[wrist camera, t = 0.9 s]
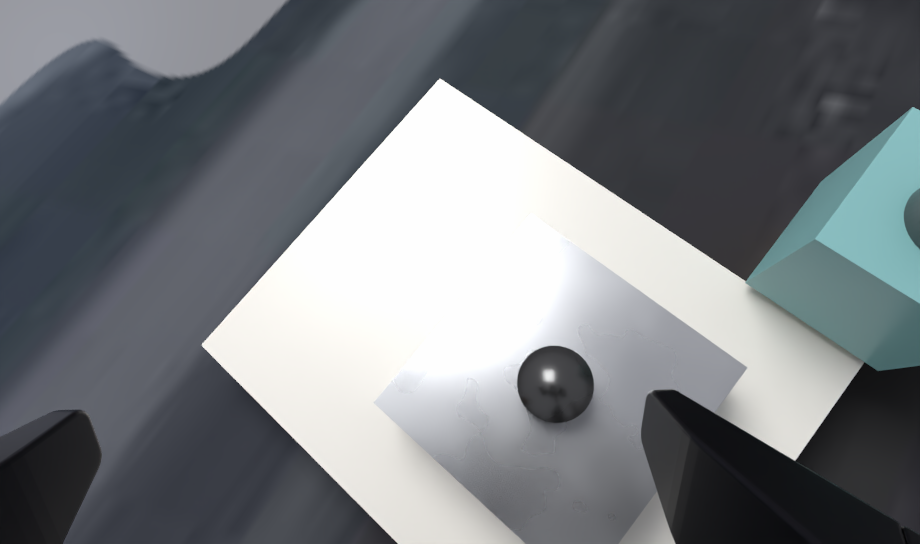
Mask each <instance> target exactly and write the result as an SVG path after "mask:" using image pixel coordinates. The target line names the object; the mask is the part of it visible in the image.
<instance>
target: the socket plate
mask: <svg viewBox="0 0 920 544" xmlns="http://www.w3.org/2000/svg"><path fill="white" fill-rule="evenodd" d="M530 214H532V215H534V216H535V217H537V218H538V219H540V220H541V221H542V222H544V223H545V224H547V225H548V226H549V227H551V228H552V229H554V230H555V231H556V232H558V233H559V234H561V235H562V236H563V237H565V238H566V239H568V240H569V241H570V242H572V243H573V244H575V245H576V246H577V247H579V248H580V249H582V250H583V251H584V252H586V253H587V254H589V255H590V256H592V257H593V258H594V259H596V260H597V261H599V262H600V263H601V264H603V265H604V266H606V267H607V268H608V269H610V270H611V271H613V272H614V273H615V274H617V275H618V276H620V277H621V278H622V279H624V280H625V281H627V282H628V283H629V284H631V285H632V286H634V287H635V288H636V289H638V290H639V291H641V292H642V293H644V294H645V295H646V296H648V297H649V298H651V299H652V300H653V301H655V302H656V303H658V304H659V305H660V306H662V307H663V308H665V309H666V310H667V311H669V312H670V313H672V314H673V315H674V316H676V317H677V318H679V319H680V320H681V321H683V322H684V323H686V324H687V325H688V326H690V327H691V328H693V329H694V330H696V331H697V332H698V333H700V334H701V335H703V336H704V337H705V338H707V339H708V340H710V341H711V342H712V343H714V344H715V345H717V346H718V347H719V348H721V349H722V350H724V351H725V352H726V353H728V354H729V355H731V356H732V357H733V358H735V359H736V360H738V361H739V362H741V363H742V364H743V365H745V366H746V367H748V368H747V369H746V371H745V372H744V373H743V375H742V376H741V378H740V379H739V380H738V382H737V383H736V384H735V386H734V387H733V388H732V390H731V391H730V393H729V394H728V395H727V397H726V398H725V399H724V401H723V402H722V403H721V405H720V406H719V407H718V409H717V410H716V412H715V414H717V415H719V416H720V417H722V418H724V419H725V420H727V421H729V422H731V423H732V424H734V425H736V426H737V427H739V428H741V429H742V430H744V431H746V432H747V433H749V434H751V435H752V436H754V437H756V438H757V439H759V440H761V441H763V442H764V443H766V444H768V445H769V446H771V447H773V448H774V449H776V450H778V451H779V452H781V453H783V454H784V455H786V456H788V457H790V458H791V459H793V460H796V459H797V457H798V456H799V454H800V453H801V452H802V450H803V449H804V447H805V446H806V445H807V443H808V442H809V440H810V439H811V437H812V436H813V435H814V433H815V432H816V430H817V429H818V427H819V426H820V425H821V423H822V422H823V420H824V419H825V417H826V416H827V415H828V413H829V412H830V410H831V409H832V408H833V406H834V405H835V403H836V402H837V400H838V399H839V398H840V396H841V395H842V393H843V392H844V390H845V389H846V388H847V386H848V385H849V383H850V382H851V381H852V379H853V378H854V376H855V375H856V373H857V372H858V371H859V369H860V368H861V366H862V365H863V363H864V361H862V360H861V359H859V358H858V357H856V356H855V355H853V354H852V353H850V352H849V351H847V350H846V349H844V348H843V347H841V346H840V345H838V344H836V343H835V342H833V341H832V340H830V339H829V338H827V337H826V336H824V335H823V334H821V333H820V332H818V331H817V330H815V329H814V328H812V327H811V326H809V325H808V324H806V323H805V322H803V321H802V320H800V319H799V318H797V317H796V316H794V315H793V314H791V313H790V312H788V311H787V310H785V309H784V308H782V307H781V306H779V305H778V304H776V303H775V302H773V301H772V300H770V299H769V298H767V297H766V296H764V295H763V294H761V293H760V292H758V291H757V290H755V289H754V288H752V287H751V286H749V285H748V284H746V283H745V282H746V281H744V280H743V279H741V278H740V277H738V276H737V275H735V274H734V273H732V272H731V271H729V270H728V269H726V268H725V267H723V266H722V265H720V264H719V263H717V262H716V261H714V260H712V259H711V258H709V257H708V256H706V255H705V254H703V253H702V252H700V251H699V250H697V249H696V248H694V247H693V246H691V245H690V244H688V243H687V242H685V241H684V240H682V239H681V238H679V237H678V236H676V235H675V234H673V233H672V232H670V231H669V230H667V229H666V228H664V227H663V226H661V225H660V224H658V223H657V222H655V221H654V220H652V219H651V218H649V217H648V216H646V215H645V214H643V213H642V212H640V211H639V210H637V209H636V208H634V207H633V206H631V205H630V204H628V203H627V202H625V201H624V200H622V199H621V198H619V197H618V196H616V195H615V194H613V193H612V192H610V191H609V190H607V189H606V188H604V187H603V186H601V185H599V184H598V183H596V182H595V181H593V180H592V179H590V178H589V177H587V176H586V175H584V174H583V173H581V172H580V171H578V170H577V169H575V168H574V167H572V166H571V165H569V164H568V163H566V162H565V161H563V160H562V159H560V158H559V157H557V156H556V155H554V154H553V153H551V152H550V151H548V150H547V149H545V148H544V147H542V146H541V145H539V144H538V143H536V142H535V141H533V140H532V139H530V138H529V137H527V136H526V135H524V134H523V133H521V132H520V131H518V130H517V129H515V128H514V127H512V126H511V125H509V124H508V123H506V122H505V121H503V120H502V119H500V118H499V117H497V116H496V115H494V114H493V113H491V112H490V111H488V110H486V109H485V108H483V107H482V106H480V105H479V104H477V103H476V102H474V101H473V100H471V99H470V98H468V97H467V96H465V95H464V94H462V93H461V92H459V91H458V90H456V89H455V88H453V87H452V86H450V85H449V84H447V83H446V82H444V81H443V80H441V79H439V80H438V81H437V82H436V83H435V85H434V86H433V87H432V88H431V89H430V90H429V91H428V92H427V93H426V95H425V96H424V97H423V98H422V99H421V100H420V101H419V102H418V104H417V105H416V106H415V107H414V108H413V109H412V110H411V111H410V112H409V114H408V115H407V116H406V117H405V118H404V119H403V120H402V121H401V123H400V124H399V125H398V126H397V127H396V128H395V129H394V130H393V131H392V133H391V134H390V135H389V136H388V137H387V138H386V139H385V140H384V142H383V143H382V144H381V145H380V146H379V147H378V148H377V149H376V150H375V152H374V153H373V154H372V155H371V156H370V157H369V158H368V159H367V161H366V162H365V163H364V164H363V165H362V166H361V167H360V168H359V169H358V171H357V172H356V173H355V174H354V175H353V176H352V177H351V178H350V180H349V181H348V182H347V183H346V184H345V185H344V186H343V187H342V188H341V190H340V191H339V192H338V193H337V194H336V195H335V196H334V197H333V199H332V200H331V201H330V202H329V203H328V204H327V205H326V206H325V207H324V209H323V210H322V211H321V212H320V213H319V214H318V215H317V216H316V218H315V219H314V220H313V221H312V222H311V223H310V224H309V225H308V226H307V228H306V229H305V230H304V231H303V232H302V233H301V234H300V235H299V237H298V238H297V239H296V240H295V241H294V242H293V243H292V244H291V245H290V247H289V248H288V249H287V250H286V251H285V252H284V253H283V254H282V256H281V257H280V258H279V259H278V260H277V261H276V262H275V263H274V264H273V266H272V267H271V268H270V269H269V270H268V271H267V272H266V273H265V275H264V276H263V277H262V278H261V279H260V280H259V281H258V282H257V283H256V285H255V286H254V287H253V288H252V289H251V290H250V291H249V292H248V294H247V295H246V296H245V297H244V298H243V299H242V300H241V301H240V303H239V304H238V305H237V306H236V307H235V308H234V309H233V310H232V311H231V313H230V314H229V315H228V316H227V317H226V318H225V319H224V320H223V322H222V323H221V324H220V325H219V326H218V327H217V328H216V329H215V330H214V332H213V333H212V334H211V335H210V336H209V337H208V338H207V339H206V341H205V342H204V343H203V344H202V346H203V347H204V348H205V349H206V350H207V351H208V352H209V353H210V354H211V355H212V356H213V357H214V359H215V360H216V361H217V362H218V363H219V364H220V365H221V366H222V367H223V368H224V369H225V370H226V371H227V372H228V373H229V374H230V375H231V376H232V377H233V378H234V379H235V380H236V381H237V382H238V383H239V384H240V385H241V386H242V387H243V388H244V389H245V390H246V391H247V392H248V393H249V394H250V395H251V396H252V397H253V398H254V399H255V400H256V401H257V402H258V403H259V404H260V405H261V406H262V407H263V408H264V409H265V410H266V411H267V412H268V413H269V414H270V415H271V416H272V417H273V418H274V419H275V420H276V421H277V422H278V423H279V424H280V425H281V426H282V427H283V428H284V429H285V430H286V431H287V432H288V433H289V434H290V435H291V436H292V437H293V438H294V439H295V440H296V441H297V442H298V443H299V444H300V445H301V446H302V447H303V448H304V449H305V450H306V451H307V452H308V453H309V454H310V455H311V456H312V457H313V458H314V459H315V460H316V461H317V462H318V463H319V465H320V466H321V467H322V468H323V469H324V470H325V471H326V472H327V473H328V474H329V475H330V476H331V477H332V478H333V479H334V480H335V481H336V482H337V483H338V484H339V485H340V486H341V487H342V488H343V489H344V490H345V491H346V492H347V493H348V494H349V495H350V496H351V497H352V498H353V499H354V500H355V501H356V502H357V503H358V504H359V505H360V506H361V507H362V508H363V509H364V510H365V511H366V512H367V513H368V514H369V515H370V516H371V517H372V518H373V519H374V520H375V521H376V522H377V523H378V524H379V525H380V526H381V527H382V528H383V529H384V530H385V531H386V532H387V533H388V534H389V535H390V536H391V537H392V538H393V539H394V540H395V541H396V542H397V543H398V544H525V543H524V542H523V541H522V540H521V539H520V538H519V537H518V536H517V535H516V534H515V533H514V532H512V531H511V530H510V529H509V528H508V527H507V526H506V525H505V524H504V523H503V522H502V521H501V520H500V519H498V518H497V517H496V516H495V515H494V514H493V513H492V512H491V511H490V510H489V509H488V508H487V507H485V506H484V505H483V504H482V503H481V502H480V501H479V500H478V499H477V498H476V497H475V496H474V495H473V494H471V493H470V492H469V491H468V490H467V489H466V488H465V487H464V486H463V485H462V484H461V483H460V482H458V481H457V480H456V479H455V478H454V477H453V476H452V475H451V474H450V473H449V472H448V471H447V470H446V469H444V468H443V467H442V466H441V465H440V464H439V463H438V462H437V461H436V460H435V459H434V458H433V457H432V456H430V455H429V454H428V453H427V452H426V451H425V450H424V449H423V448H422V447H421V446H420V445H419V444H417V443H416V442H415V441H414V440H413V439H412V438H411V437H410V436H409V435H408V434H407V433H406V432H405V431H403V430H402V429H401V428H400V427H399V426H398V425H397V424H396V423H395V422H394V421H393V420H392V419H390V418H389V417H388V416H387V415H386V414H385V413H384V412H383V411H382V410H381V409H380V408H379V407H378V406H376V405H375V404H374V402H375V400H376V399H377V398H378V397H379V395H380V394H381V393H382V392H383V391H384V389H385V388H386V387H387V386H388V385H389V383H390V382H391V381H392V380H393V379H394V377H395V376H396V375H397V374H398V373H399V371H400V370H401V369H402V368H403V367H404V365H405V364H406V363H407V362H408V361H409V359H410V358H411V357H412V356H413V355H414V353H415V352H416V351H417V350H418V349H419V347H420V346H421V345H422V344H423V343H424V341H425V340H426V339H427V338H428V337H429V335H430V334H431V333H432V332H433V331H434V329H435V328H436V327H437V326H438V325H439V323H440V322H441V321H442V320H443V319H444V317H445V316H446V315H447V314H448V313H449V311H450V310H451V309H452V308H453V307H454V305H455V304H456V303H457V302H458V301H459V299H460V298H461V297H462V296H463V295H464V293H465V292H466V291H467V290H468V289H469V287H470V286H471V285H472V284H473V283H474V281H475V280H476V279H477V278H478V277H479V275H480V274H481V273H482V272H483V271H484V269H485V268H486V267H487V266H488V265H489V263H490V262H491V261H492V260H493V258H494V257H495V256H496V255H497V254H498V252H499V251H500V250H501V249H502V248H503V246H504V245H505V244H506V243H507V242H508V240H509V239H510V238H511V237H512V236H513V234H514V233H515V232H516V231H517V230H518V228H519V227H520V226H521V225H522V224H523V222H524V221H525V220H526V219H527V218H528V216H529V215H530ZM619 544H675V542H674V539H673V537H672V534H671V532H670V529H669V526H668V523H667V520H666V517H665V514H664V511H663V508H662V505H661V502H660V499H659V495H658V492H656V493H655V495H654V496H653V497H652V499H651V500H650V501H649V503H648V504H647V505H646V507H645V508H644V510H643V511H642V512H641V514H640V515H639V516H638V518H637V519H636V520H635V522H634V523H633V525H632V526H631V527H630V529H629V530H628V531H627V533H626V534H625V535H624V537H623V538H622V539H621V541H620V542H619Z"/></svg>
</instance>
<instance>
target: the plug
mask: <svg viewBox="0 0 920 544" xmlns="http://www.w3.org/2000/svg"><path fill="white" fill-rule="evenodd" d="M745 283H746V284H748V285H749V286H751V287H752V288H754V289H755V290H757V291H758V292H760V293H761V294H763V295H764V296H766V297H767V298H769V299H770V300H772V301H773V302H775V303H776V304H778V305H779V306H781V307H782V308H784V309H785V310H787V311H788V312H790V313H791V314H793V315H794V316H796V317H797V318H799V319H800V320H802V321H803V322H805V323H806V324H808V325H809V326H811V327H812V328H814V329H815V330H817V331H818V332H820V333H821V334H823V335H824V336H826V337H827V338H829V339H830V340H832V341H833V342H835V343H836V344H838V345H840V346H841V347H843V348H844V349H846V350H847V351H849V352H850V353H852V354H853V355H855V356H856V357H858V358H859V359H861V360H862V361H864V362H865V363H867V364H868V365H870V366H871V367H873V368H874V369H876V370H877V371H882V370H889V369H897V368H905V367H913V366H920V111H919V110H918V109H916V108H914V107H912V108H911V109H910V110H909V111H907V112H906V113H905V114H904V115H903V116H901V117H900V118H899V119H898V120H896V121H895V122H894V123H893V124H891V125H890V126H889V127H888V128H887V129H885V130H884V131H883V132H882V133H880V134H879V135H878V136H877V137H875V138H874V139H873V140H872V141H870V142H869V143H868V144H867V145H866V146H864V147H863V148H862V149H861V150H859V151H858V152H857V153H856V154H854V155H853V156H852V157H851V158H850V159H848V160H847V161H846V162H845V163H843V164H842V165H841V166H840V167H838V168H837V169H836V170H835V171H834V172H832V173H831V174H830V175H829V176H827V177H826V178H825V179H824V180H822V181H821V183H820V184H819V185H818V187H817V188H816V189H815V190H814V192H813V193H812V194H811V196H810V197H809V198H808V200H807V201H806V202H805V204H804V205H803V206H802V208H801V209H800V210H799V212H798V213H797V214H796V216H795V217H794V218H793V220H792V221H791V222H790V224H789V225H788V226H787V228H786V229H785V230H784V232H783V233H782V234H781V236H780V237H779V238H778V240H777V241H776V242H775V244H774V245H773V246H772V248H771V249H770V250H769V252H768V253H767V254H766V256H765V257H764V258H763V259H762V261H761V262H760V263H759V265H758V266H757V267H756V269H755V270H754V271H753V273H752V274H751V275H750V277H749V278H748V279H747V281H746V282H745Z"/></svg>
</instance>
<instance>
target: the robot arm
mask: <svg viewBox="0 0 920 544" xmlns="http://www.w3.org/2000/svg"><path fill="white" fill-rule="evenodd" d="M641 441H642V445H643V449H644V452H645V455H646V458H647V461H648V464H649V467H650V470H651V474H652V477H653V480H654V483H655V486H656V489H657V492H658V495H659V499H660V502H661V505H662V508H663V511H664V514H665V517H666V520H667V523H668V526H669V529H670V532H671V534H672V537H673V539H674V542H675V544H920V534H918V533H916V532H915V531H913V530H911V529H910V528H908V527H902V528H901V525H900V523H899V522H897V521H896V520H894V519H892V518H891V517H889V516H887V515H886V514H884V513H882V512H881V511H879V510H877V509H876V508H874V507H872V506H870V505H869V504H867V503H865V502H864V501H862V500H860V499H859V498H857V497H855V496H854V495H852V494H850V493H849V492H847V491H845V490H843V489H842V488H840V487H838V486H837V485H835V484H833V483H832V482H830V481H828V480H827V479H825V478H823V477H822V476H820V475H818V474H817V473H815V472H813V471H811V470H810V469H808V468H806V467H805V466H803V465H801V464H800V463H798V462H796V461H795V460H793V459H791V458H790V457H788V456H786V455H784V454H783V453H781V452H779V451H778V450H776V449H774V448H773V447H771V446H769V445H768V444H766V443H764V442H763V441H761V440H759V439H757V438H756V437H754V436H752V435H751V434H749V433H747V432H746V431H744V430H742V429H741V428H739V427H737V426H736V425H734V424H732V423H731V422H729V421H727V420H725V419H724V418H722V417H720V416H719V415H717V414H715V413H714V412H712V411H710V410H709V409H707V408H705V407H704V406H702V405H700V404H698V403H697V402H695V401H693V400H692V399H690V398H688V397H687V396H685V395H683V394H682V393H680V392H678V391H676V390H673V389H661V390H651V391H650V392H648V394H647V396H646V401H645V407H644V413H643V420H642V426H641ZM101 457H102V453H101V447H100V445H99V442H98V439H97V436H96V434H95V431H94V428H93V425H92V422H91V420H90V417H89V415H88V414H87V413H86V412H85V411H82V410H58V411H53V412H51V413H49V414H47V415H45V416H43V417H40V418H38V419H36V420H34V421H32V422H30V423H28V424H26V425H24V426H22V427H20V428H18V429H16V430H14V431H11V432H9V433H7V434H5V435H3V436H1V437H0V544H63V542H64V539H65V537H66V535H67V533H68V531H69V529H70V527H71V525H72V523H73V521H74V519H75V516H76V514H77V512H78V510H79V508H80V506H81V504H82V502H83V500H84V498H85V496H86V493H87V491H88V489H89V487H90V485H91V483H92V481H93V479H94V477H95V475H96V473H97V470H98V468H99V466H100V463H101Z"/></svg>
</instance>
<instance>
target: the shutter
mask: <svg viewBox="0 0 920 544" xmlns="http://www.w3.org/2000/svg"><path fill="white" fill-rule="evenodd" d="M747 368H748V367H746V366H745V365H743V364H742V363H741V362H739V361H738V360H736V359H735V358H733V357H732V356H731V355H729V354H728V353H726V352H725V351H724V350H722V349H721V348H719V347H718V346H717V345H715V344H714V343H712V342H711V341H710V340H708V339H707V338H705V337H704V336H703V335H701V334H700V333H698V332H697V331H696V330H694V329H693V328H691V327H690V326H688V325H687V324H686V323H684V322H683V321H681V320H680V319H679V318H677V317H676V316H674V315H673V314H672V313H670V312H669V311H667V310H666V309H665V308H663V307H662V306H660V305H659V304H658V303H656V302H655V301H653V300H652V299H651V298H649V297H648V296H646V295H645V294H644V293H642V292H641V291H639V290H638V289H636V288H635V287H634V286H632V285H631V284H629V283H628V282H627V281H625V280H624V279H622V278H621V277H620V276H618V275H617V274H615V273H614V272H613V271H611V270H610V269H608V268H607V267H606V266H604V265H603V264H601V263H600V262H599V261H597V260H596V259H594V258H593V257H592V256H590V255H589V254H587V253H586V252H584V251H583V250H582V249H580V248H579V247H577V246H576V245H575V244H573V243H572V242H570V241H569V240H568V239H566V238H565V237H563V236H562V235H561V234H559V233H558V232H556V231H555V230H554V229H552V228H551V227H549V226H548V225H547V224H545V223H544V222H542V221H541V220H540V219H538V218H537V217H535V216H534V215H532V214H530V215H529V216H528V218H527V219H526V220H525V221H524V222H523V224H522V225H521V226H520V227H519V228H518V230H517V231H516V232H515V233H514V234H513V236H512V237H511V238H510V239H509V240H508V242H507V243H506V244H505V245H504V246H503V248H502V249H501V250H500V251H499V252H498V254H497V255H496V256H495V257H494V258H493V260H492V261H491V262H490V263H489V265H488V266H487V267H486V268H485V269H484V271H483V272H482V273H481V274H480V275H479V277H478V278H477V279H476V280H475V281H474V283H473V284H472V285H471V286H470V287H469V289H468V290H467V291H466V292H465V293H464V295H463V296H462V297H461V298H460V299H459V301H458V302H457V303H456V304H455V305H454V307H453V308H452V309H451V310H450V311H449V313H448V314H447V315H446V316H445V317H444V319H443V320H442V321H441V322H440V323H439V325H438V326H437V327H436V328H435V329H434V331H433V332H432V333H431V334H430V335H429V337H428V338H427V339H426V340H425V341H424V343H423V344H422V345H421V346H420V347H419V349H418V350H417V351H416V352H415V353H414V355H413V356H412V357H411V358H410V359H409V361H408V362H407V363H406V364H405V365H404V367H403V368H402V369H401V370H400V371H399V373H398V374H397V375H396V376H395V377H394V379H393V380H392V381H391V382H390V383H389V385H388V386H387V387H386V388H385V389H384V391H383V392H382V393H381V394H380V395H379V397H378V398H377V399H376V400H375V402H374V404H375V405H376V406H378V407H379V408H380V409H381V410H382V411H383V412H384V413H385V414H386V415H387V416H388V417H389V418H390V419H392V420H393V421H394V422H395V423H396V424H397V425H398V426H399V427H400V428H401V429H402V430H403V431H405V432H406V433H407V434H408V435H409V436H410V437H411V438H412V439H413V440H414V441H415V442H416V443H417V444H419V445H420V446H421V447H422V448H423V449H424V450H425V451H426V452H427V453H428V454H429V455H430V456H432V457H433V458H434V459H435V460H436V461H437V462H438V463H439V464H440V465H441V466H442V467H443V468H444V469H446V470H447V471H448V472H449V473H450V474H451V475H452V476H453V477H454V478H455V479H456V480H457V481H458V482H460V483H461V484H462V485H463V486H464V487H465V488H466V489H467V490H468V491H469V492H470V493H471V494H473V495H474V496H475V497H476V498H477V499H478V500H479V501H480V502H481V503H482V504H483V505H484V506H485V507H487V508H488V509H489V510H490V511H491V512H492V513H493V514H494V515H495V516H496V517H497V518H498V519H500V520H501V521H502V522H503V523H504V524H505V525H506V526H507V527H508V528H509V529H510V530H511V531H512V532H514V533H515V534H516V535H517V536H518V537H519V538H520V539H521V540H522V541H523V542H524V543H525V544H619V542H620V541H621V539H622V538H623V537H624V535H625V534H626V533H627V531H628V530H629V529H630V527H631V526H632V525H633V523H634V522H635V520H636V519H637V518H638V516H639V515H640V514H641V512H642V511H643V510H644V508H645V507H646V505H647V504H648V503H649V501H650V500H651V499H652V497H653V496H654V495H655V493H656V492H657V489H656V486H655V483H654V480H653V477H652V474H651V470H650V467H649V464H648V461H647V458H646V455H645V452H644V449H643V445H642V441H641V426H642V420H643V413H644V407H645V401H646V396H647V394H648V392H650V391H651V390H661V389H673V390H676V391H678V392H680V393H682V394H683V395H685V396H687V397H688V398H690V399H692V400H693V401H695V402H697V403H698V404H700V405H702V406H704V407H705V408H707V409H709V410H710V411H712V412H714V413H715V412H716V410H717V409H718V407H719V406H720V405H721V403H722V402H723V401H724V399H725V398H726V397H727V395H728V394H729V393H730V391H731V390H732V388H733V387H734V386H735V384H736V383H737V382H738V380H739V379H740V378H741V376H742V375H743V373H744V372H745V371H746V369H747Z"/></svg>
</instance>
